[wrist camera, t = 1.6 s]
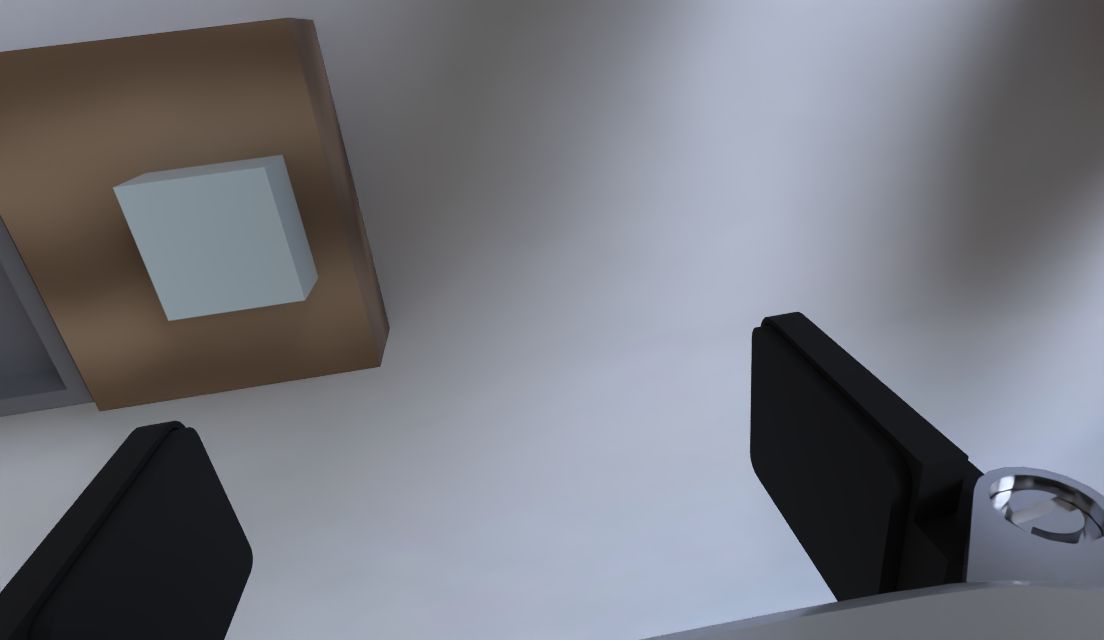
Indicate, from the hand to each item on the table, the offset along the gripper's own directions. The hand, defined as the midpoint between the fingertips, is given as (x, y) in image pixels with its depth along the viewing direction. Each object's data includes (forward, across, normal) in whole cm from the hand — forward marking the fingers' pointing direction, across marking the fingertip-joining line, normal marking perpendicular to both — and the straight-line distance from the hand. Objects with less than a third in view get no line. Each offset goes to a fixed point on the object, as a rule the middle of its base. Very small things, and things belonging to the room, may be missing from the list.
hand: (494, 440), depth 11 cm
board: (+20, +12, 0) cm, 23 cm away
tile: (+16, +9, 0) cm, 19 cm away
